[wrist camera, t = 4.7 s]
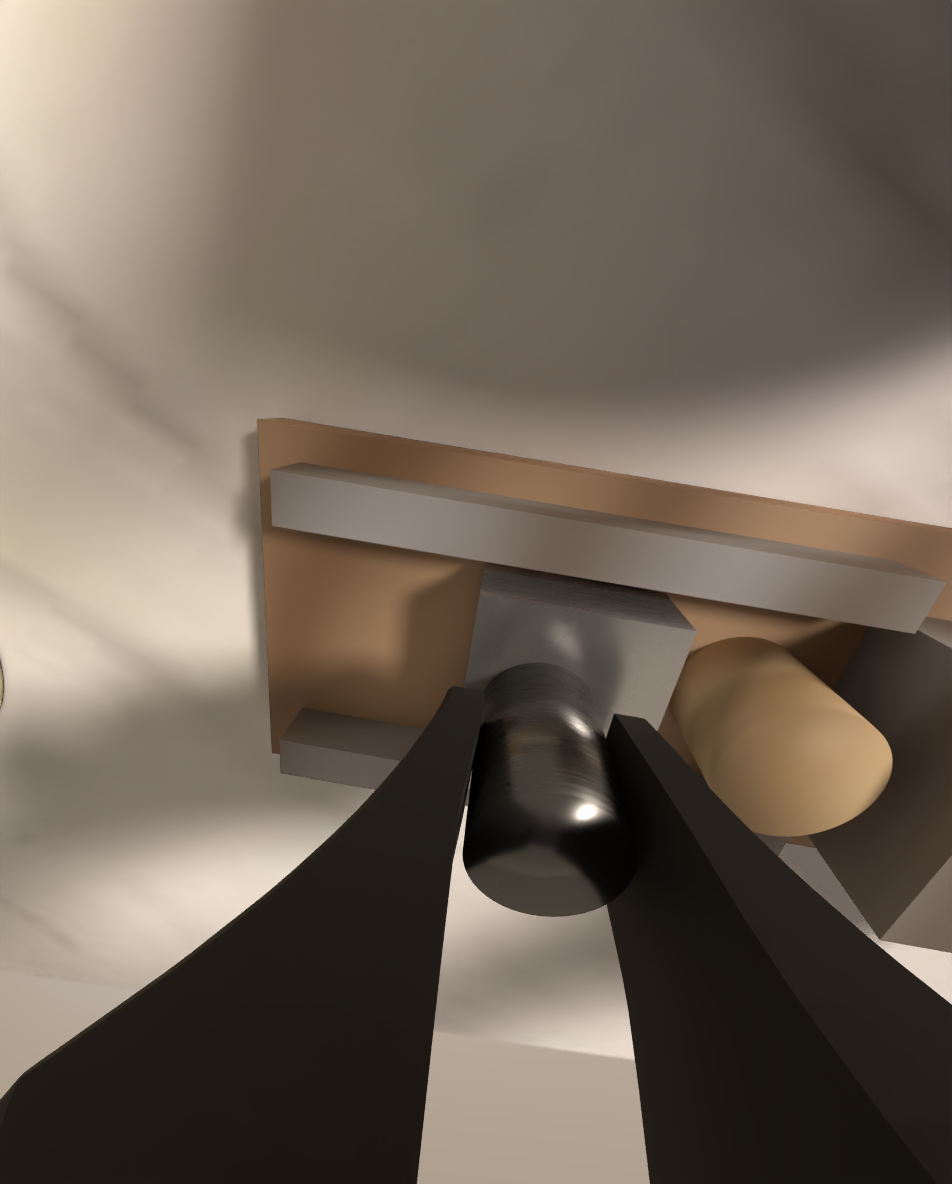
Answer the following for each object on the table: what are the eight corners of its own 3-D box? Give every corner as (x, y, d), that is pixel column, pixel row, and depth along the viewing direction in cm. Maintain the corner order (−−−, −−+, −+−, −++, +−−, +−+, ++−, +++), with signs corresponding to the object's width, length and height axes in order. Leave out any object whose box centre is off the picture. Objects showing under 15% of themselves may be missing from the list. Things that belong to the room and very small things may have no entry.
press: (990, 535, 11) (1361, 633, 6) (811, 818, 15) (952, 1012, 10) (282, 418, 11) (110, 425, 6) (289, 727, 15) (186, 875, 10)
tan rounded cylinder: (824, 648, 11) (926, 726, 8) (770, 750, 13) (844, 847, 10) (691, 626, 11) (750, 698, 8) (651, 731, 13) (691, 821, 10)
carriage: (665, 592, 11) (803, 760, 6) (607, 756, 13) (671, 989, 8) (485, 562, 11) (460, 701, 6) (456, 730, 13) (420, 943, 8)
